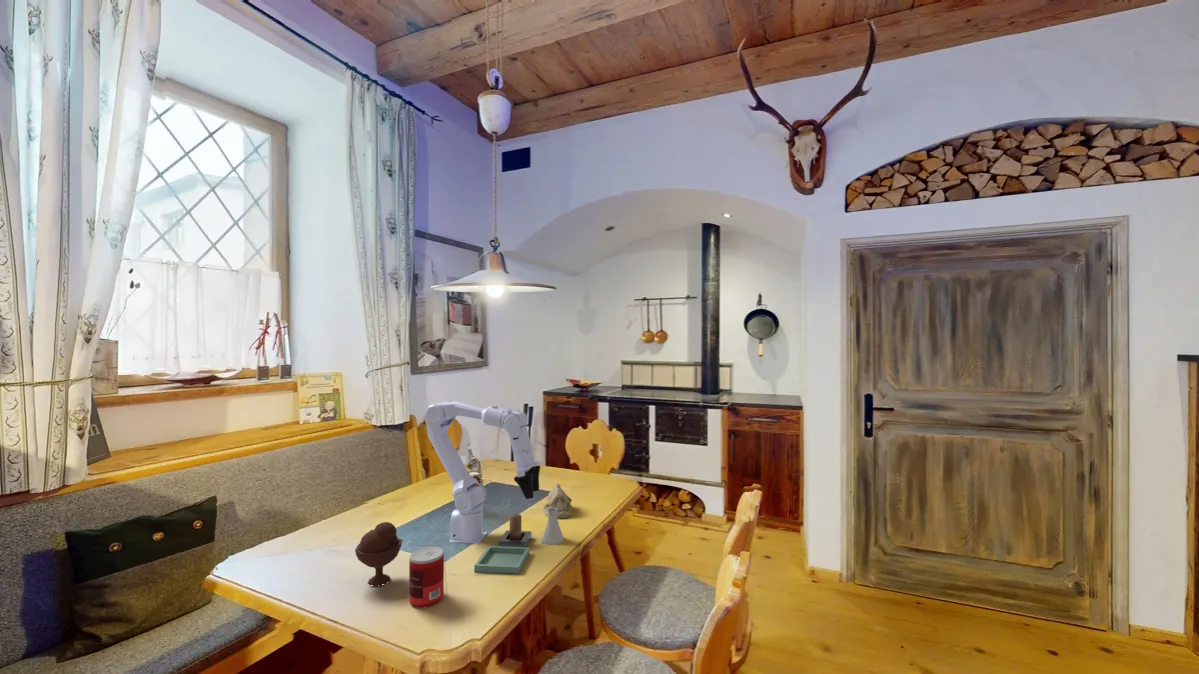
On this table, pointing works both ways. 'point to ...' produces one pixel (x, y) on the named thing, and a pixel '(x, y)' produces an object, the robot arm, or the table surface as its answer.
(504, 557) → the tray
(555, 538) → the flask
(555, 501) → the ceramic model
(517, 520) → the pin
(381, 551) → the ice cream bowl
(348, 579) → the table surface
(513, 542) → the square metal dish
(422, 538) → the table surface
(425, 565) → the canned food
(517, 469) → the robot arm
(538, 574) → the table surface
